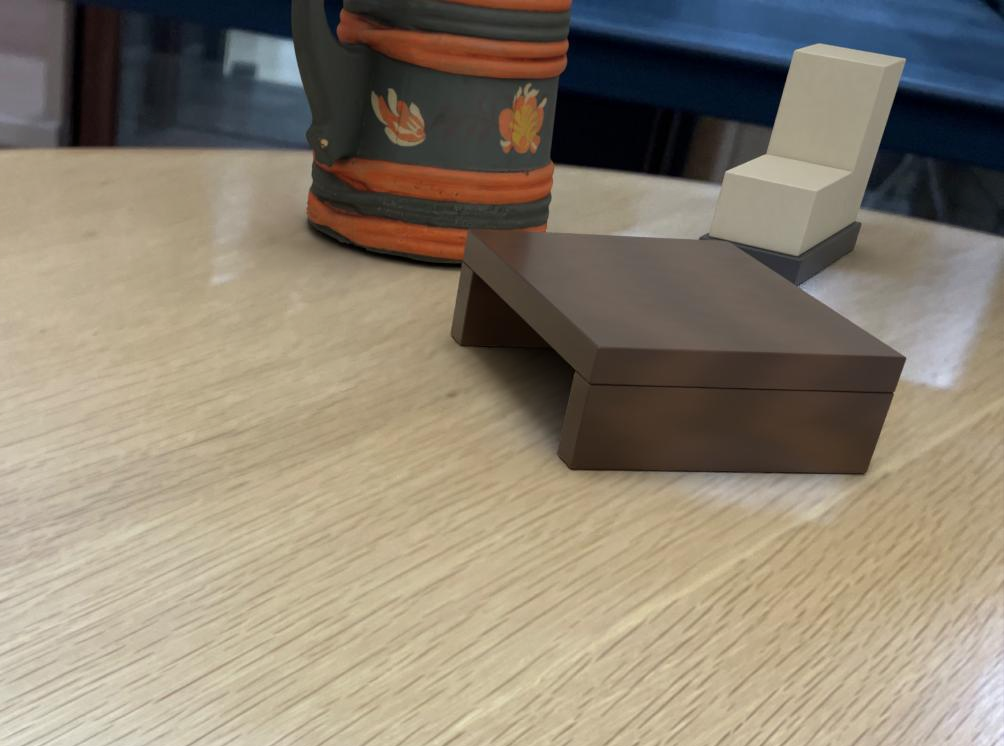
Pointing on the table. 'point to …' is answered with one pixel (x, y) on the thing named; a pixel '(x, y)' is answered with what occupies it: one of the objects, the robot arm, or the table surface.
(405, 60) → the beer stein
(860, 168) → the blocky cream boot
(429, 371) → the table surface
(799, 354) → the shoe shelf
